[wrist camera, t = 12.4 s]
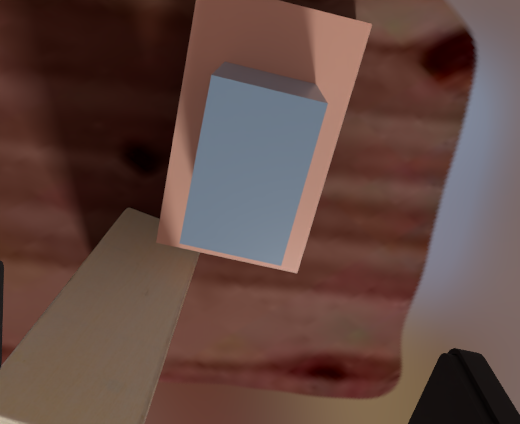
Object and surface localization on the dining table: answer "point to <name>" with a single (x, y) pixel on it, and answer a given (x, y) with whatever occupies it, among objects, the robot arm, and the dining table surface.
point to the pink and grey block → (273, 61)
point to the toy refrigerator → (102, 333)
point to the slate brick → (251, 162)
